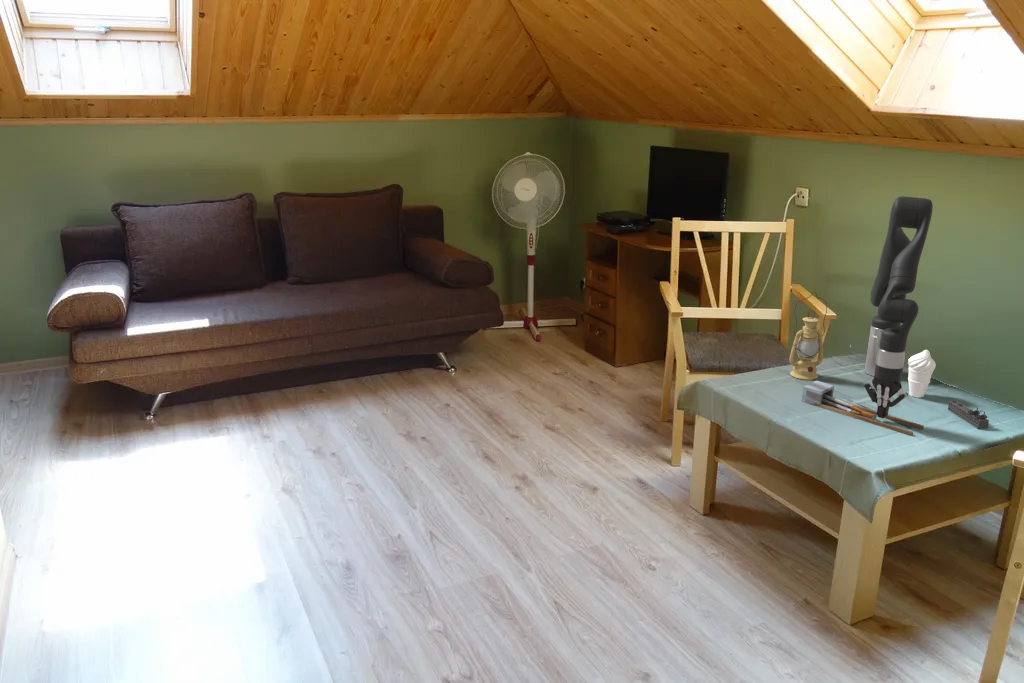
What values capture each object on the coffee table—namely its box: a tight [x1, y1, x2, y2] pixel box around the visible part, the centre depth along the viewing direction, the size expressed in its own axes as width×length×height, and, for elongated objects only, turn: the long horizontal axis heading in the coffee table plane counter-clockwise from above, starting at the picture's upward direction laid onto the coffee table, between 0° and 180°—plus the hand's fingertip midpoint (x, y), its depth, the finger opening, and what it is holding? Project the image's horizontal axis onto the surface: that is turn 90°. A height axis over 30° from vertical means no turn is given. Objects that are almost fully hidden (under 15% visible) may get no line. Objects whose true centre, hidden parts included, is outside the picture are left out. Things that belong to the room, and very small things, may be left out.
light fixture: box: [947, 400, 990, 430], centre depth 250 cm, size 3×15×6 cm, turn 5°
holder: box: [801, 379, 925, 437], centre depth 253 cm, size 8×35×5 cm, turn 41°
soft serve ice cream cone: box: [907, 349, 937, 399], centre depth 266 cm, size 8×8×16 cm
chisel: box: [822, 394, 878, 421], centre depth 257 cm, size 19×3×3 cm
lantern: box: [788, 292, 828, 381], centre depth 281 cm, size 12×10×30 cm
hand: (881, 417), depth 249 cm, fingers closed
